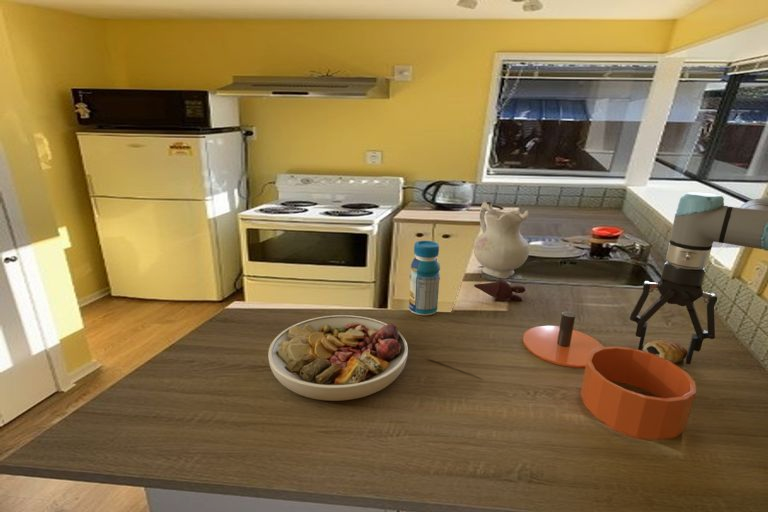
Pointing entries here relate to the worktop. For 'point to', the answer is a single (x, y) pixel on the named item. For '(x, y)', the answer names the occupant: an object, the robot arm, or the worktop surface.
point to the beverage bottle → (424, 278)
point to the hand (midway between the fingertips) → (663, 355)
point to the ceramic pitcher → (501, 242)
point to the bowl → (338, 357)
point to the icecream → (501, 290)
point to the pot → (632, 408)
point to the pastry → (666, 350)
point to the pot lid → (561, 343)
